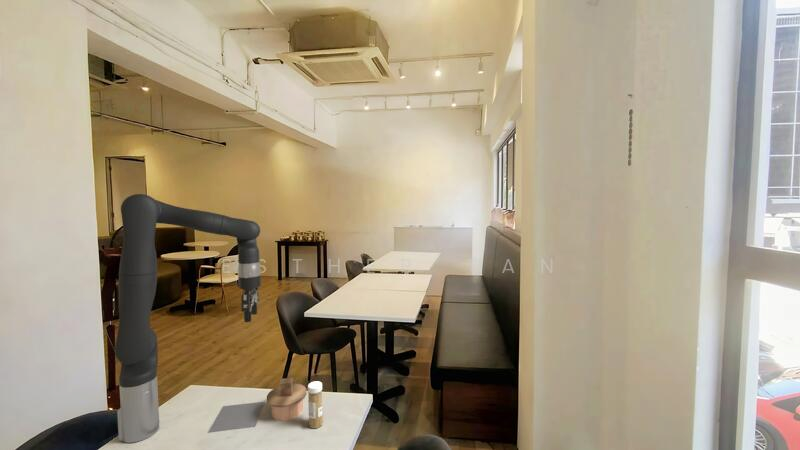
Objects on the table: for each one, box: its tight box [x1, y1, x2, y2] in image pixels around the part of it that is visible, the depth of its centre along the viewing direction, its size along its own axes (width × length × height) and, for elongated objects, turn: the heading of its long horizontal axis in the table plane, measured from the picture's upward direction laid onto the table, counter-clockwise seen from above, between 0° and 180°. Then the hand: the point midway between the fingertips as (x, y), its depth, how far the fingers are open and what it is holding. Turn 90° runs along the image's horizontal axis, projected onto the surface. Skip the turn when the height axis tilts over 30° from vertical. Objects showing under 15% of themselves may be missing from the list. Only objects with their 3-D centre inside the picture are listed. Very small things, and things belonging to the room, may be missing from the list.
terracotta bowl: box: [270, 399, 304, 421], centre depth 113 cm, size 10×10×6 cm
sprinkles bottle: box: [307, 380, 324, 429], centre depth 106 cm, size 5×5×13 cm
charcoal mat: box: [207, 401, 266, 434], centre depth 110 cm, size 14×14×1 cm
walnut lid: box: [266, 377, 308, 407], centre depth 113 cm, size 13×13×5 cm
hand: (251, 317), depth 121 cm, fingers open, 8 cm apart
